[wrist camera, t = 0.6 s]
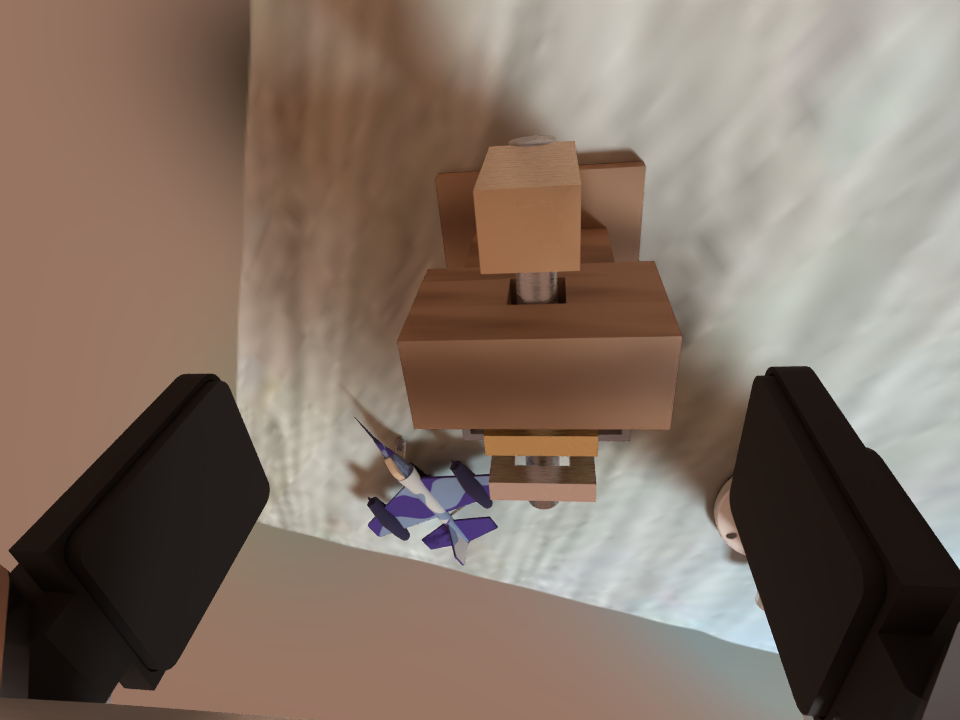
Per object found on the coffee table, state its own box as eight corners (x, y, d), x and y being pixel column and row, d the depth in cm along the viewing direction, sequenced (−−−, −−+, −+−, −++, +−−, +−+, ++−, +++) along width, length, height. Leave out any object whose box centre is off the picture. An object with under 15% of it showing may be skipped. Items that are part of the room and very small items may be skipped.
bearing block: (633, 294, 37) (669, 429, 26) (453, 299, 38) (414, 428, 27) (643, 161, 32) (693, 256, 21) (437, 173, 34) (382, 267, 22)
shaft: (571, 485, 36) (575, 590, 30) (517, 484, 36) (509, 587, 30) (573, 133, 24) (581, 184, 18) (492, 138, 24) (472, 190, 18)
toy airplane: (360, 392, 44) (346, 422, 41) (528, 440, 45) (527, 472, 42) (338, 498, 51) (326, 530, 48) (483, 537, 52) (479, 571, 49)
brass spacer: (590, 388, 35) (597, 456, 30) (494, 389, 35) (485, 455, 30) (591, 370, 34) (598, 436, 29) (493, 371, 35) (483, 436, 30)
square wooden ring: (589, 431, 37) (595, 501, 32) (498, 431, 37) (490, 499, 32) (589, 415, 36) (596, 484, 31) (496, 415, 37) (488, 482, 32)
